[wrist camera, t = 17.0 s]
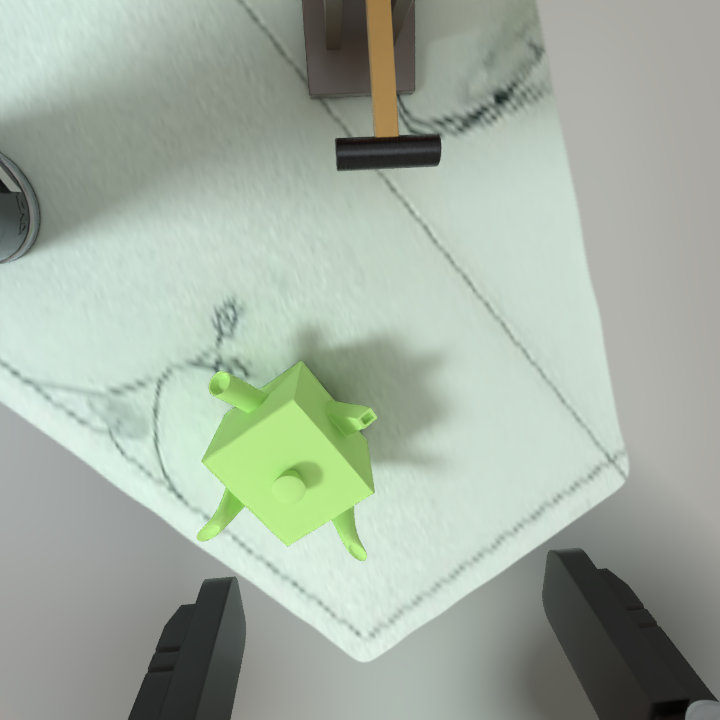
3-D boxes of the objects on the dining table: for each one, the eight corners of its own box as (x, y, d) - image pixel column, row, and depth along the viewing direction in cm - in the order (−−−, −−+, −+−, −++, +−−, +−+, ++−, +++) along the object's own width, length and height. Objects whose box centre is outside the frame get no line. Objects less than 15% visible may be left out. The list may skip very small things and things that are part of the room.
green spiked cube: (359, 489, 46) (366, 574, 36) (225, 478, 45) (191, 563, 34) (381, 359, 41) (397, 414, 31) (230, 342, 40) (192, 393, 29)
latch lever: (433, 174, 22) (444, 154, 20) (337, 179, 22) (336, 159, 20) (418, -89, 22) (427, -143, 19) (319, -87, 21) (316, -141, 19)
